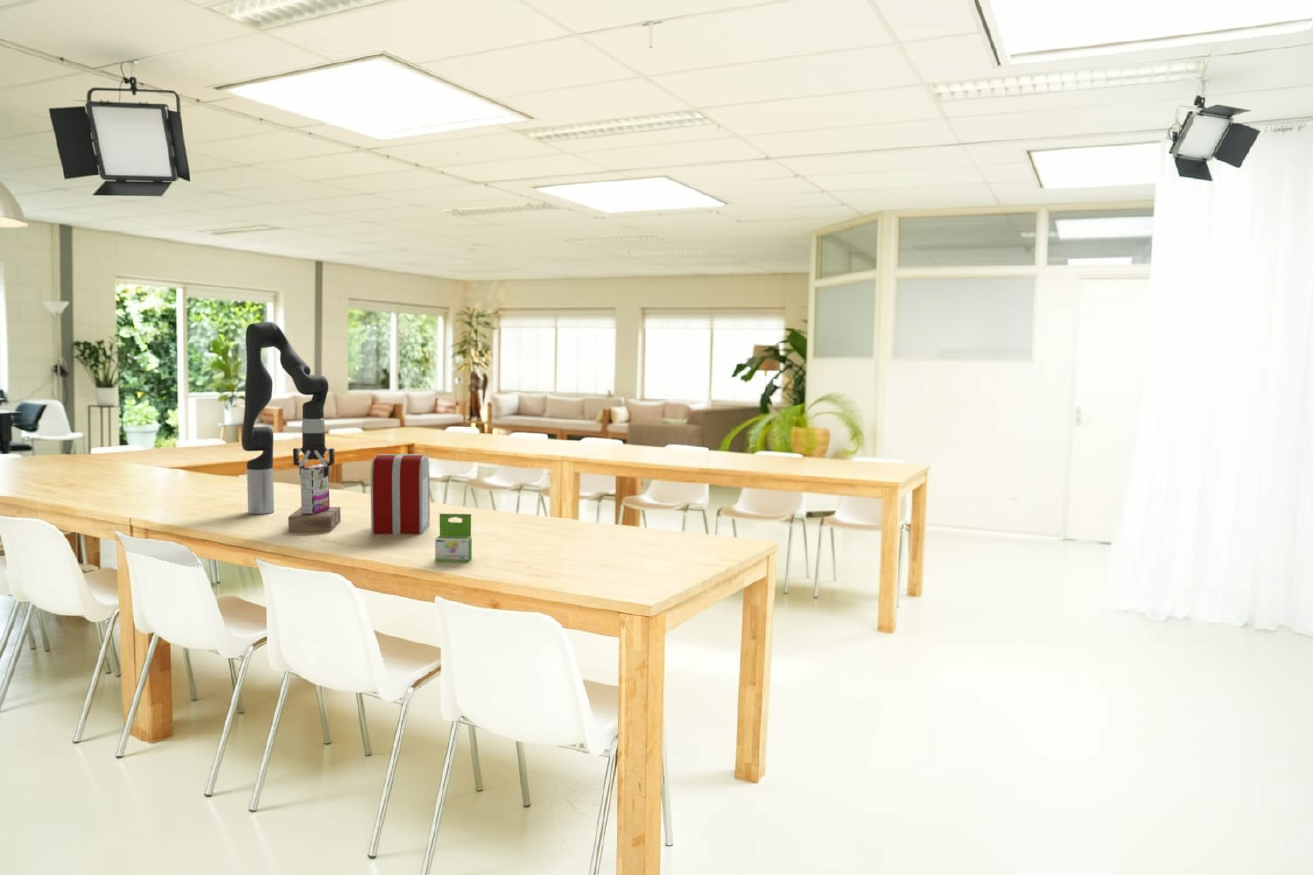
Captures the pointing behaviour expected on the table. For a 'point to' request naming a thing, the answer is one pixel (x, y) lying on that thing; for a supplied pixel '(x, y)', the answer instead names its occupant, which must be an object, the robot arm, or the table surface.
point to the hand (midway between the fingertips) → (314, 477)
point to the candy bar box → (314, 490)
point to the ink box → (454, 539)
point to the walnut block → (314, 521)
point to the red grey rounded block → (400, 494)
